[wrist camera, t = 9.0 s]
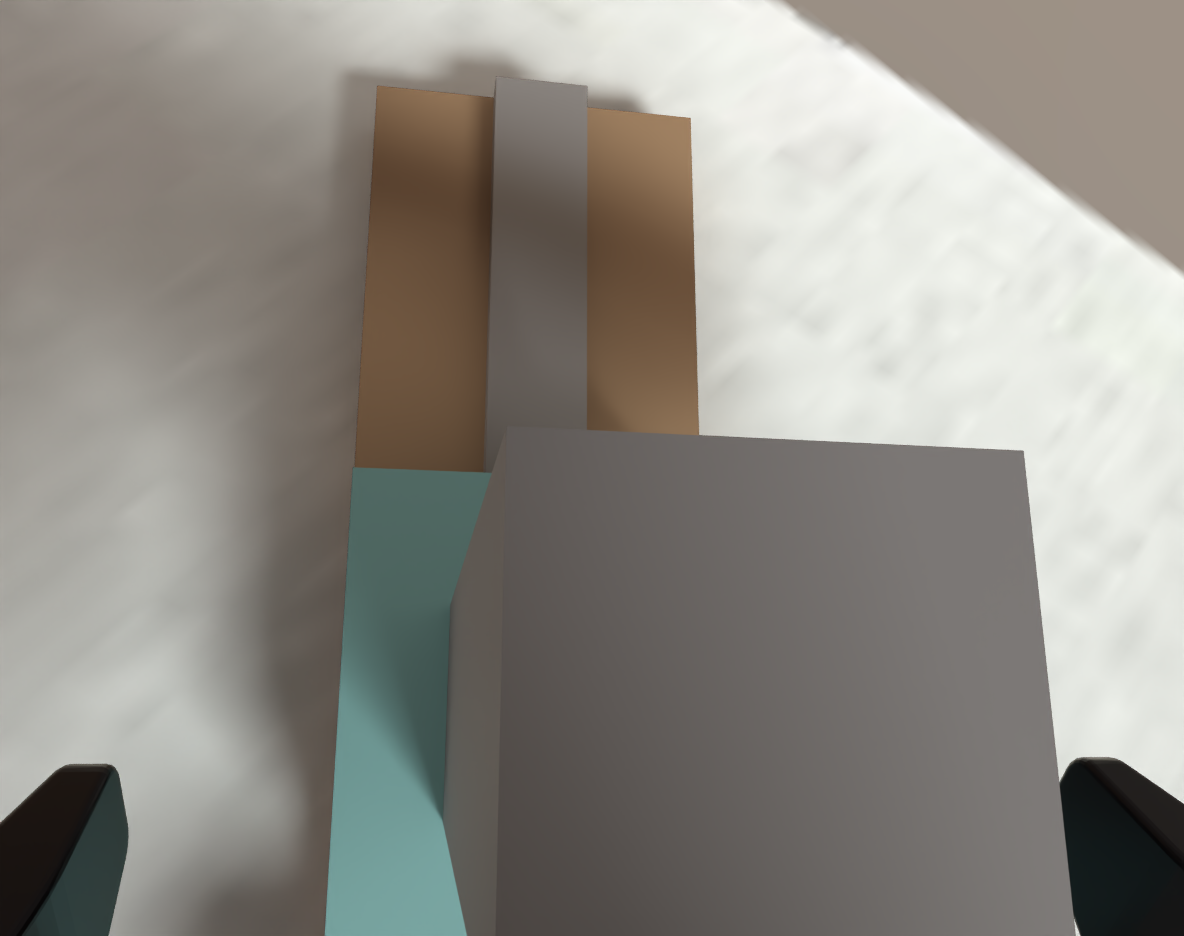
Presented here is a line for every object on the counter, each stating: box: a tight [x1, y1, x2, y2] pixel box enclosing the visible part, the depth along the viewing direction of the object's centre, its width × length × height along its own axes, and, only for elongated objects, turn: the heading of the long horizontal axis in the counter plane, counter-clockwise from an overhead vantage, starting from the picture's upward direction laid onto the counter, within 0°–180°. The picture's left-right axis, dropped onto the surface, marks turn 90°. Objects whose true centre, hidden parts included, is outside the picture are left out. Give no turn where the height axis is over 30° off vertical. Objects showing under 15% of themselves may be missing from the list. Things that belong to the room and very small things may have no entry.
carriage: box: [325, 426, 1076, 936], centre depth 11 cm, size 7×6×12 cm
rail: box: [355, 76, 699, 473], centre depth 16 cm, size 22×6×6 cm, turn 0°
